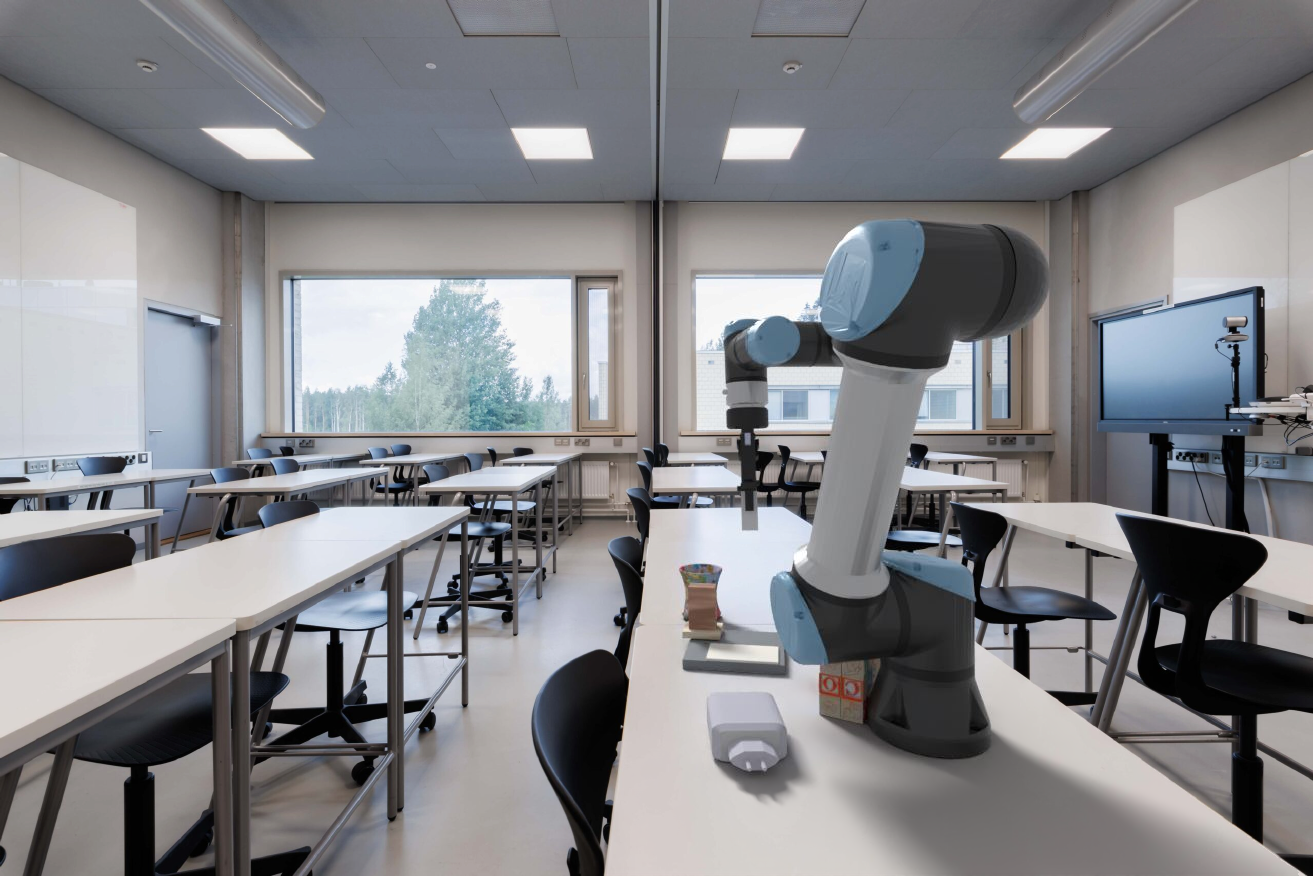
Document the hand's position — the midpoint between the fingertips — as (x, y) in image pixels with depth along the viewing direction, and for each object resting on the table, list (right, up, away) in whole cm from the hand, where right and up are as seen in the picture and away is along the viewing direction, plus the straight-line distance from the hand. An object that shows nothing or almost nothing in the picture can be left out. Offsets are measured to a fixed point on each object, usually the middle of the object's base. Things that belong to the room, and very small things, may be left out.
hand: (750, 525), depth 109 cm
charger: (-5, -24, -33) cm, 41 cm away
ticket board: (-2, -23, 0) cm, 23 cm away
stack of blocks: (+14, -24, -15) cm, 32 cm away
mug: (-7, -23, +23) cm, 33 cm away
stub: (-8, -21, +6) cm, 24 cm away
